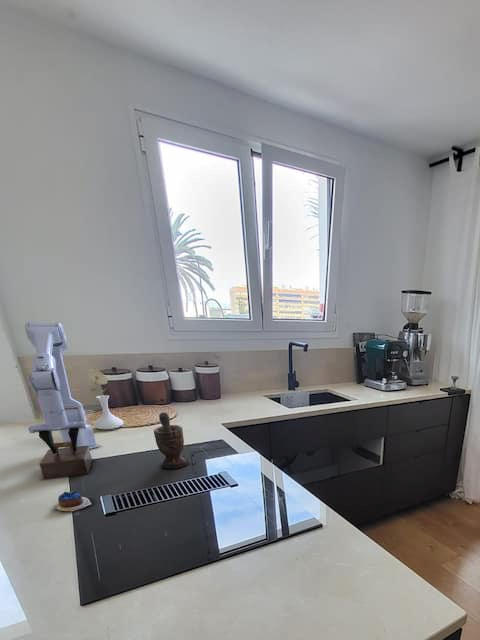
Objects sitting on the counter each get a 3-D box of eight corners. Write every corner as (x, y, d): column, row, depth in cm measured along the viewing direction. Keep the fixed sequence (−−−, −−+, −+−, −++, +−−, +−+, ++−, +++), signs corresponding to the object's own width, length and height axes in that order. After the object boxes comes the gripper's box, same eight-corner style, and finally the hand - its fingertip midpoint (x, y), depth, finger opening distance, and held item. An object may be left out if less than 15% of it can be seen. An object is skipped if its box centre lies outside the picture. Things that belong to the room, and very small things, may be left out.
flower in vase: (129, 427, 174) (117, 369, 164) (103, 433, 165) (88, 372, 155) (114, 422, 180) (101, 366, 170) (87, 427, 171) (72, 369, 161)
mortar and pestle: (195, 468, 132) (186, 410, 124) (168, 475, 127) (157, 414, 119) (182, 459, 140) (173, 403, 132) (157, 464, 135) (145, 407, 127)
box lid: (48, 451, 131) (44, 438, 129) (89, 447, 136) (85, 434, 134) (39, 465, 119) (35, 452, 117) (84, 460, 124) (80, 447, 122)
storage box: (52, 464, 132) (48, 452, 130) (92, 460, 137) (88, 447, 135) (44, 479, 121) (39, 465, 119) (87, 473, 126) (84, 460, 124)
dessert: (47, 506, 104) (56, 485, 105) (70, 510, 110) (79, 490, 111) (67, 514, 101) (77, 493, 102) (90, 518, 107) (99, 497, 108)
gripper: (20, 415, 116) (34, 458, 121) (79, 411, 122) (90, 452, 127) (26, 410, 121) (39, 451, 127) (82, 406, 127) (92, 446, 133)
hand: (65, 451), depth 127 cm, fingers closed on box lid, 5 cm apart
